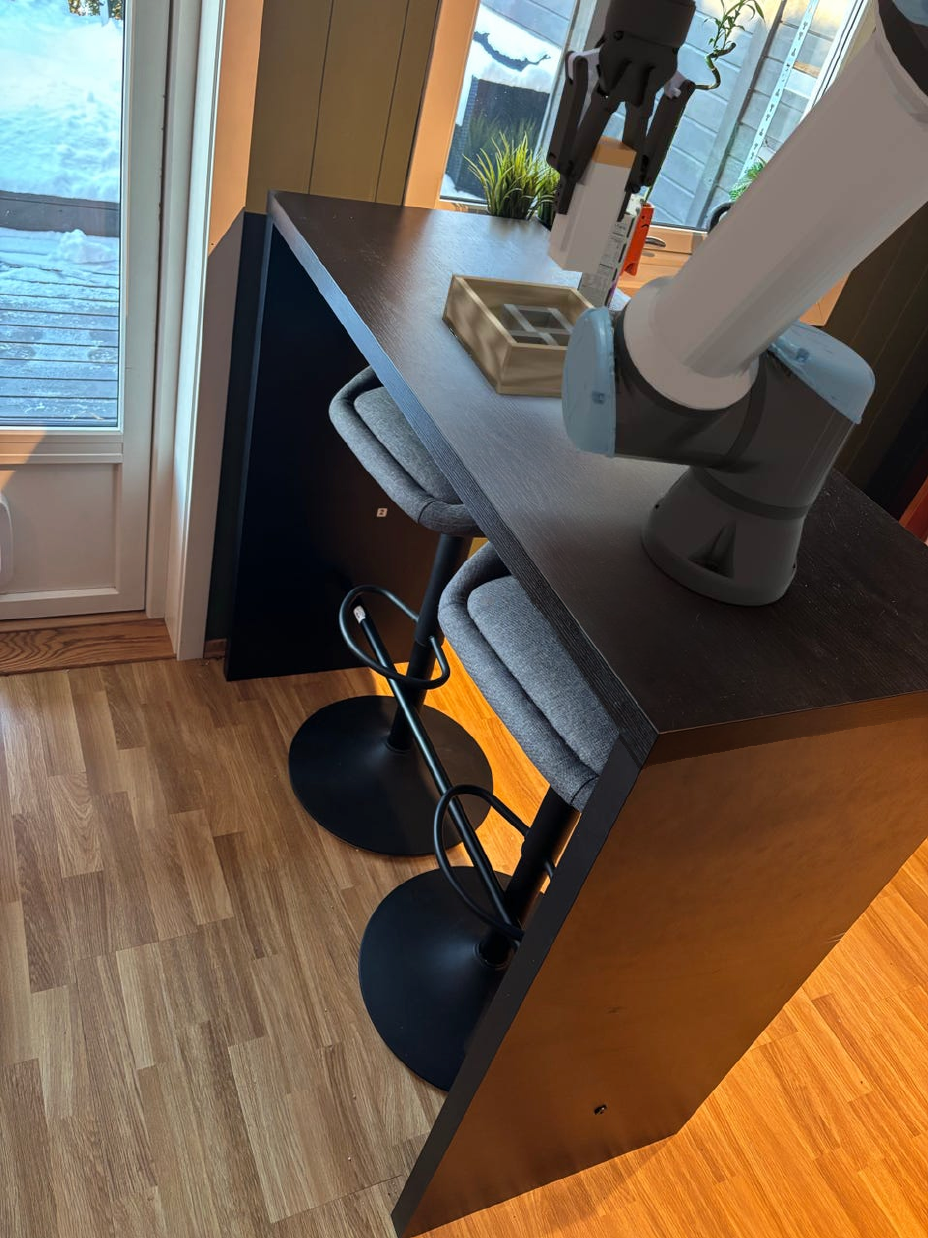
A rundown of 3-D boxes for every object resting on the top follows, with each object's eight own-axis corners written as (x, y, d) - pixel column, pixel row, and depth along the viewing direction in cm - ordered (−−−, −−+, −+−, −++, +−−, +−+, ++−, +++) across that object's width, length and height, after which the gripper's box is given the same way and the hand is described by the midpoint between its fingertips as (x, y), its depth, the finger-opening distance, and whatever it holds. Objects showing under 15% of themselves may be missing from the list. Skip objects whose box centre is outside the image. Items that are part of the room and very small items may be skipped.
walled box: (627, 400, 119) (644, 355, 115) (498, 393, 112) (512, 346, 108) (560, 328, 132) (573, 286, 129) (442, 318, 125) (452, 273, 121)
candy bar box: (578, 297, 144) (613, 185, 134) (609, 308, 144) (647, 197, 134) (564, 320, 135) (602, 202, 125) (598, 332, 135) (638, 214, 125)
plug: (596, 273, 99) (636, 152, 92) (563, 269, 97) (601, 145, 90) (579, 257, 102) (617, 138, 94) (546, 254, 100) (583, 132, 93)
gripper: (713, -3, 90) (628, 242, 105) (557, -46, 83) (489, 225, 97) (757, 16, 85) (661, 271, 100) (595, -27, 78) (517, 254, 92)
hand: (576, 247), depth 98 cm, fingers closed on plug, 4 cm apart
